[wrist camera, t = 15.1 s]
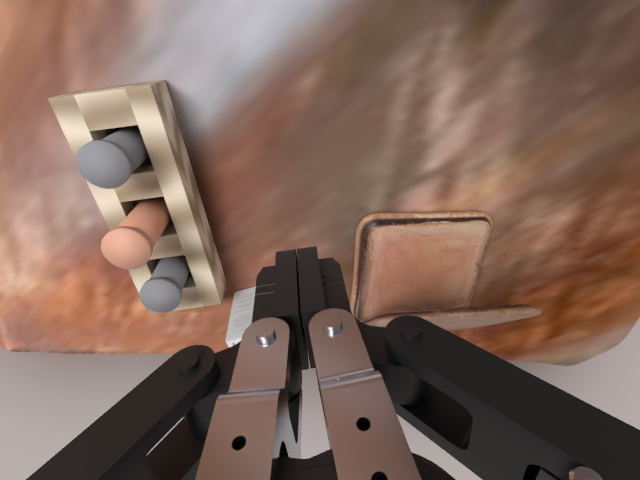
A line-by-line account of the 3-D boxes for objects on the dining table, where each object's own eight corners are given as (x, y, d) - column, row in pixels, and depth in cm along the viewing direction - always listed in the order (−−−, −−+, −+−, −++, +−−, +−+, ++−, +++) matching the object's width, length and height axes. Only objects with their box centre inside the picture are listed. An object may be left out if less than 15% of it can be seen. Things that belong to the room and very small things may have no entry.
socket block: (74, 91, 39) (47, 98, 34) (165, 79, 39) (150, 85, 35) (160, 291, 53) (148, 314, 48) (226, 282, 53) (221, 303, 49)
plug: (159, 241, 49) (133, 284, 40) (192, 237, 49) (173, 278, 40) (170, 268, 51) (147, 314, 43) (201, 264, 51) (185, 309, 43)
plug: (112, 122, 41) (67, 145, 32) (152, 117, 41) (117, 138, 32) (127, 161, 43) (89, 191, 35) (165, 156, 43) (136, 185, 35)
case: (346, 323, 60) (366, 409, 46) (355, 210, 49) (385, 278, 35) (461, 317, 62) (514, 398, 48) (494, 207, 51) (574, 271, 37)
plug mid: (130, 194, 43) (93, 233, 34) (169, 189, 43) (140, 227, 34) (144, 228, 45) (112, 272, 36) (180, 223, 45) (156, 266, 37)
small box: (246, 317, 57) (239, 370, 48) (233, 290, 54) (223, 341, 45) (294, 304, 56) (296, 356, 47) (284, 277, 54) (284, 326, 44)
